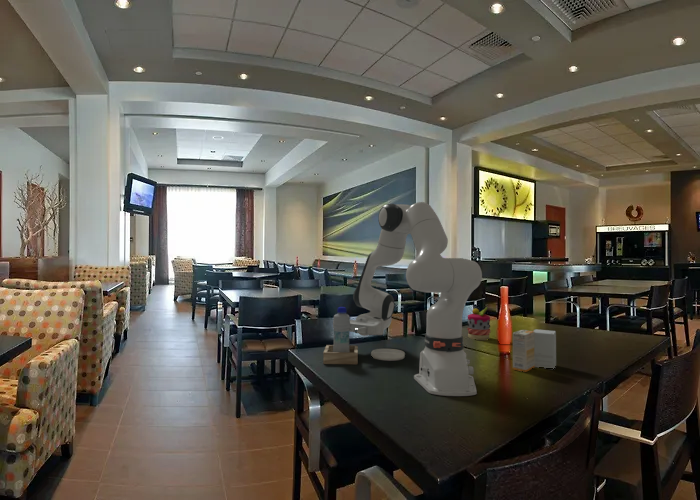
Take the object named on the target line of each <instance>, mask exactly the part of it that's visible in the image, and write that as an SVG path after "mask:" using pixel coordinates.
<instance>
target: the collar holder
mask: <svg viewBox="0 0 700 500" xmlns="http://www.w3.org/2000/svg"><path fill="white" fill-rule="evenodd" d="M333 345H334V344H326V346H325V347H324V350H323V353H322V355H323V360H322V361H323V362H322V363H323V365H358V360H359V359H358V358H359V357H358V355H359V345H354V344H351V345H350V344H349V350H350V352H333Z"/></svg>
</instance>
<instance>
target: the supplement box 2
mask: <svg viewBox="0 0 700 500" xmlns="http://www.w3.org/2000/svg"><path fill="white" fill-rule="evenodd" d="M533 331H534V332H535V367H534V368H539V367H544V368H543V369H546V368H553V369H554V368H555V369H556V367H557V332H556V330H548V329H540V328H539V329H537V328H536V329H533ZM555 366H556V367H555ZM553 369H552V370H553ZM555 369H554V370H555Z"/></svg>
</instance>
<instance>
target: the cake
mask: <svg viewBox="0 0 700 500" xmlns="http://www.w3.org/2000/svg"><path fill="white" fill-rule="evenodd" d="M487 310H488V306H486V307H485V308H484V309H482V310H481V311H480V310H479V309H478V308H473V309H472V313H469V314H467V322H466V323H467V328H466V330H467V338H468V337H469V338H471V339H470V340H473V339H476V340H475V341H488V340H487V339H489V340H490V334H491V324H490V323H491V316H490V315H488V314H486V312H487ZM469 338H468V339H469Z"/></svg>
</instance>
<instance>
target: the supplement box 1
mask: <svg viewBox="0 0 700 500" xmlns="http://www.w3.org/2000/svg"><path fill="white" fill-rule="evenodd" d="M532 368H533V369H534V368H536V367H535V332H534V330H533V331H532V330H527V329H520V330H517V331H514V332H512V370H514V371H517V372H522V371H523V373H527V372H529V371H531V370H533V369H532Z"/></svg>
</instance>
